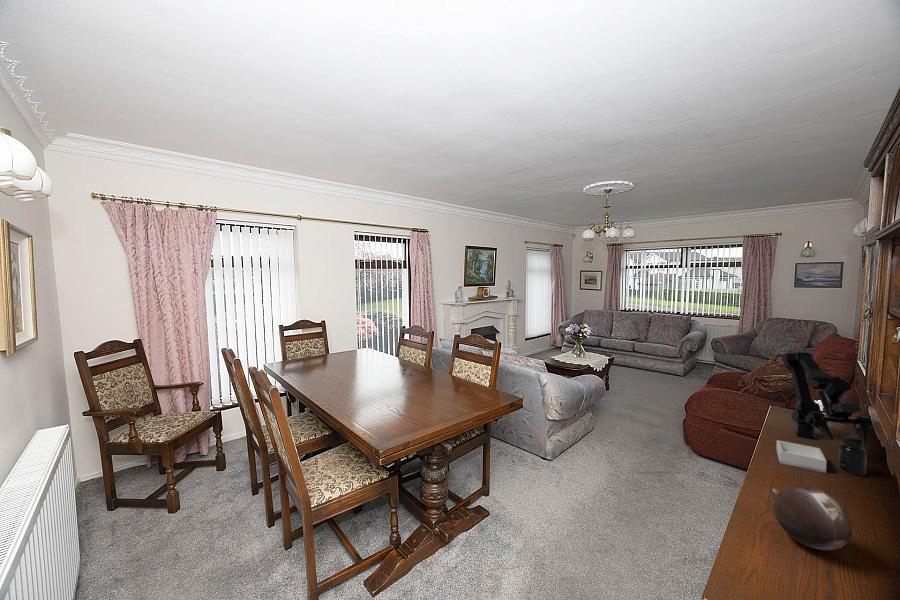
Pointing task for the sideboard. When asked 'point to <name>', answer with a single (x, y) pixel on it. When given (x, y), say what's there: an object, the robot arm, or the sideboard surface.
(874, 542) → the sideboard surface
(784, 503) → the dark glossy egg
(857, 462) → the supplement bottle
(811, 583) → the sideboard surface
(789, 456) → the tray
